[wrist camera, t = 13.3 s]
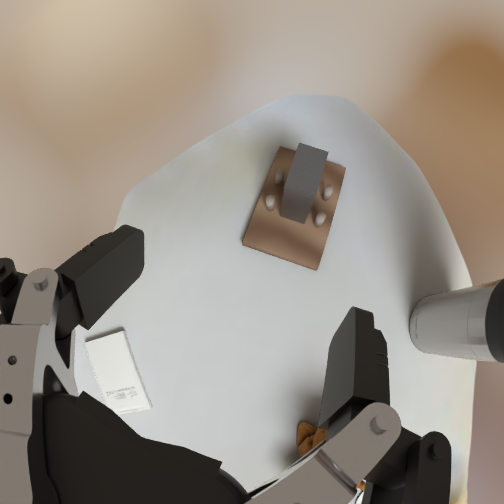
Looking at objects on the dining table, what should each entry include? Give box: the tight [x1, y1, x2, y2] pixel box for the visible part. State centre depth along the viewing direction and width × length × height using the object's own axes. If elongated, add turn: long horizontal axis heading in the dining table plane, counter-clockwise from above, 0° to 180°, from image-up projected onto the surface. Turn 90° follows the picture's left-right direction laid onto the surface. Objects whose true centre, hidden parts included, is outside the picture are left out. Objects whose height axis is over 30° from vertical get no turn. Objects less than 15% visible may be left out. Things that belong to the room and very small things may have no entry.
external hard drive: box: [84, 331, 153, 415], centre depth 36 cm, size 2×8×12 cm
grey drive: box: [280, 143, 328, 224], centre depth 35 cm, size 6×4×10 cm, turn 160°
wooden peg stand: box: [242, 147, 346, 270], centre depth 39 cm, size 17×11×4 cm, turn 160°
